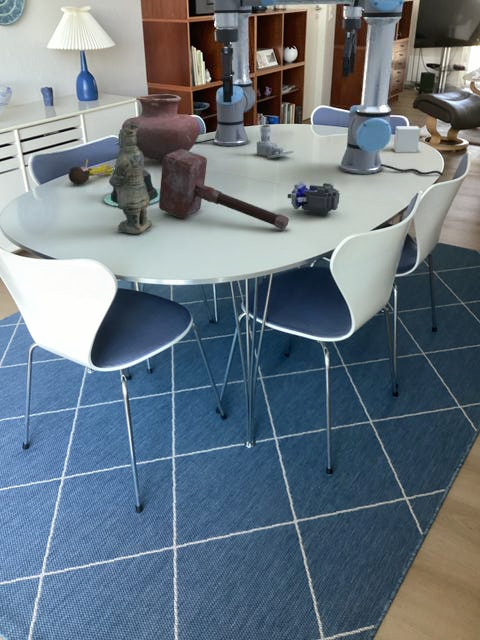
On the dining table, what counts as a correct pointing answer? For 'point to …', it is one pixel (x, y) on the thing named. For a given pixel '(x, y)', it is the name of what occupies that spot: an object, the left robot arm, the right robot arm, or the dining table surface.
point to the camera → (268, 144)
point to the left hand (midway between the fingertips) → (348, 74)
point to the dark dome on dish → (152, 192)
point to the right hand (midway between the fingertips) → (228, 99)
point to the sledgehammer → (200, 190)
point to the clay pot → (163, 127)
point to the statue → (131, 182)
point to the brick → (406, 138)
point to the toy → (315, 198)
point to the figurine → (87, 173)
